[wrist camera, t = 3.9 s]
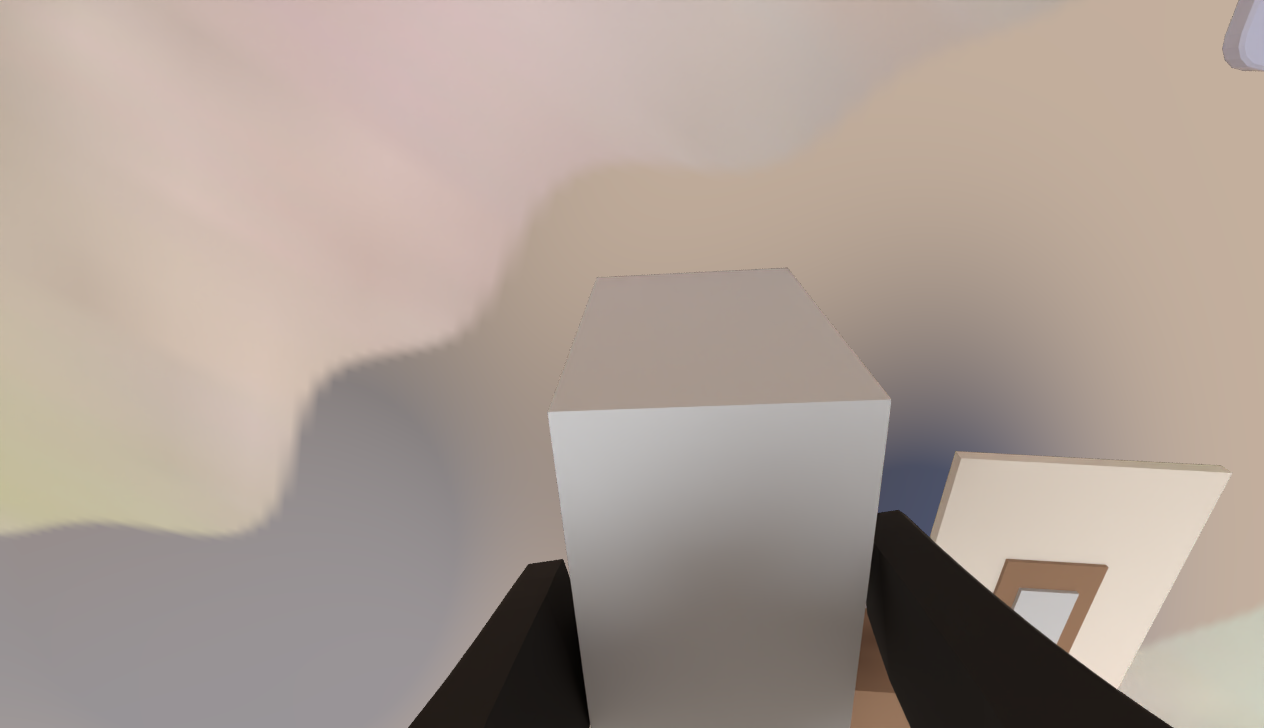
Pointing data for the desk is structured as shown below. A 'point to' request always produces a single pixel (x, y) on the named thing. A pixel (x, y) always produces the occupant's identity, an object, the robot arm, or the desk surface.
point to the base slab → (874, 688)
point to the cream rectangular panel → (1077, 542)
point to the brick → (717, 501)
